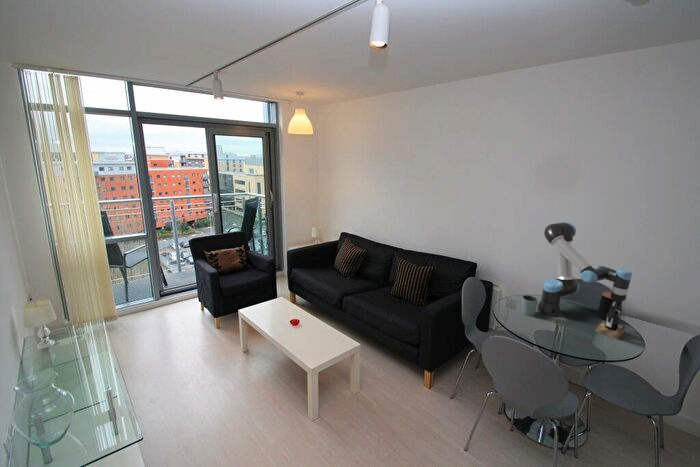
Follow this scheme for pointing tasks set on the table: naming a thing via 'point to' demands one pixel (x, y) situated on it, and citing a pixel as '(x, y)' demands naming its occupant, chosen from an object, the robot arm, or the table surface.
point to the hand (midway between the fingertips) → (611, 322)
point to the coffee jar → (604, 304)
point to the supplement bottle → (614, 322)
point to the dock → (608, 332)
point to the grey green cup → (529, 305)
